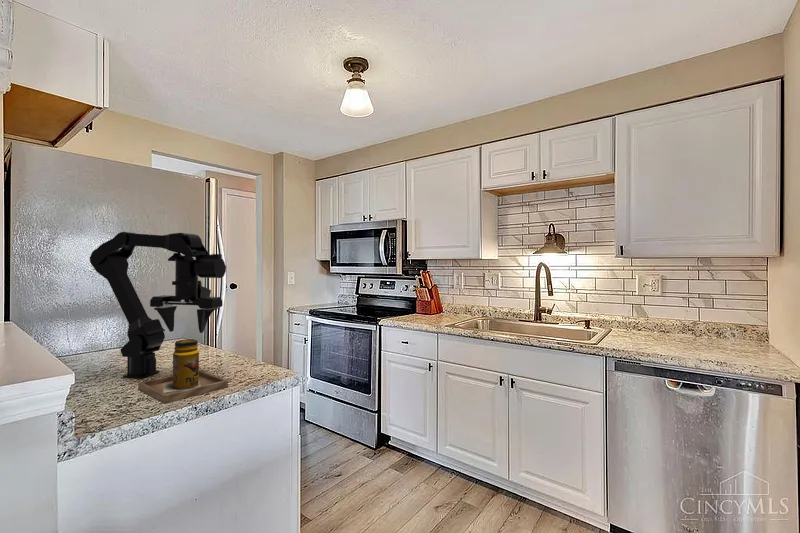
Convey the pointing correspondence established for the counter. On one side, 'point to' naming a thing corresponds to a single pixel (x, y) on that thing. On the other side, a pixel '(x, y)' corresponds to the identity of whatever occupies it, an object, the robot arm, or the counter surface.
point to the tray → (156, 390)
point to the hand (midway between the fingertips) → (186, 332)
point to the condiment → (184, 366)
